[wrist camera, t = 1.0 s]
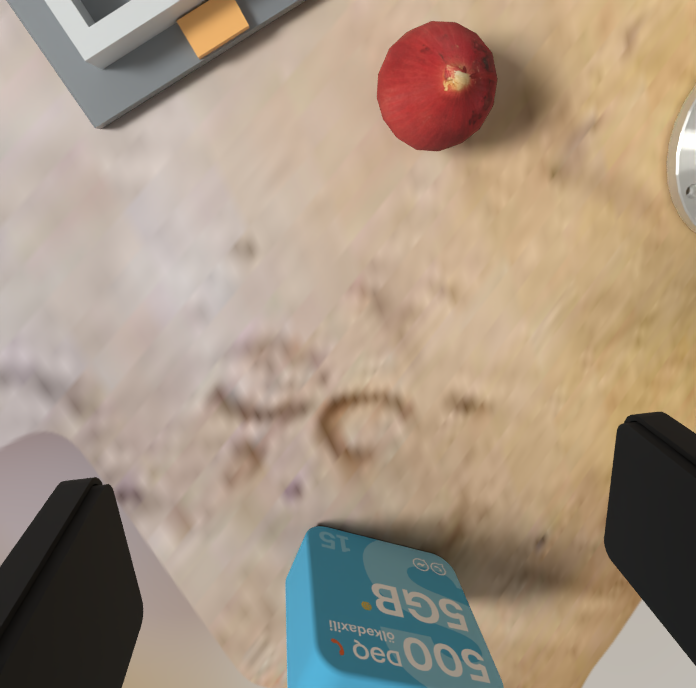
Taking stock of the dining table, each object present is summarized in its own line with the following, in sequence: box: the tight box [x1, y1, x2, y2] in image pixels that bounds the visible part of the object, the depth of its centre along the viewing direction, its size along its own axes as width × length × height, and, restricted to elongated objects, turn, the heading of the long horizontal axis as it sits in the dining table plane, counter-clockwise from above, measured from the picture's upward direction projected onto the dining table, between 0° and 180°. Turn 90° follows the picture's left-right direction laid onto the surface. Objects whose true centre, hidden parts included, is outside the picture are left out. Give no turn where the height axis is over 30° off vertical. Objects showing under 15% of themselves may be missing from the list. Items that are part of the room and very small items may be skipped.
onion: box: [377, 21, 497, 151], centre depth 26 cm, size 6×6×8 cm
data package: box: [286, 526, 504, 688], centre depth 35 cm, size 12×4×12 cm, turn 68°
